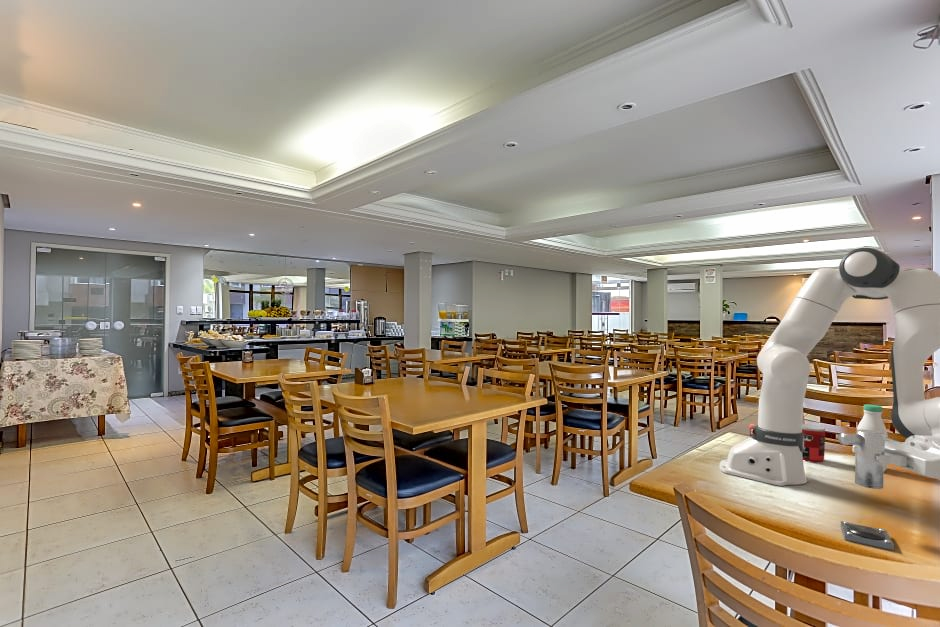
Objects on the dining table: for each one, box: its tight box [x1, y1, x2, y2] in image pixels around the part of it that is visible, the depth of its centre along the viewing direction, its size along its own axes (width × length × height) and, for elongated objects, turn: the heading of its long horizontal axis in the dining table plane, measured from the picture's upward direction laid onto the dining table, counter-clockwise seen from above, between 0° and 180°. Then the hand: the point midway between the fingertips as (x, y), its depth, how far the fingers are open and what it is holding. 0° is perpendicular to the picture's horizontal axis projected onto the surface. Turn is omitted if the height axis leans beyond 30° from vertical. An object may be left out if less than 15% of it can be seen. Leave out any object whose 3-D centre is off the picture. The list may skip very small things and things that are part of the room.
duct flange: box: [840, 520, 895, 551], centre depth 105 cm, size 8×8×2 cm
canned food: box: [802, 423, 826, 463], centre depth 161 cm, size 8×8×11 cm
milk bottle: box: [854, 403, 889, 472], centre depth 153 cm, size 8×8×20 cm
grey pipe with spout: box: [837, 429, 885, 490], centre depth 109 cm, size 9×5×12 cm, turn 90°
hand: (865, 454), depth 109 cm, fingers closed on grey pipe with spout, 5 cm apart
